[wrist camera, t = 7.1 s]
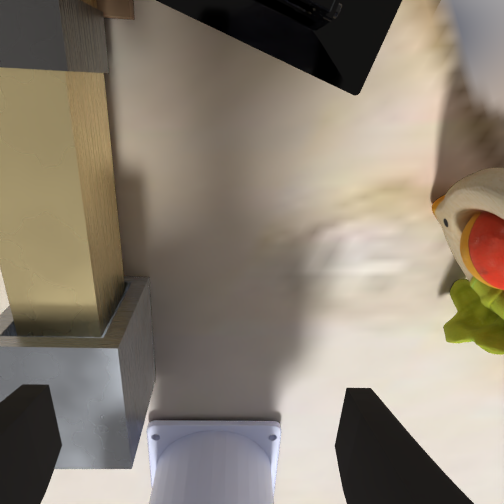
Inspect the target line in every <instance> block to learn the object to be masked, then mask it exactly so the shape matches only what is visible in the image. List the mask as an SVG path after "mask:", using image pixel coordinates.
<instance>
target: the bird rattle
mask: <svg viewBox="0 0 504 504" xmlns="http://www.w3.org/2000/svg"><path fill="white" fill-rule="evenodd" d="M432 211H433V213H434V215H435V217H436V218H437V220H438V221H439V223H440V224H441V226H442V229H443V231H444V234H445V237H446V240H447V242H448V245H449V247H450V249H451V251H452V253H453V255H454V257H455V259H456V261H457V262H458V264H459V266H460V267H461V269H462V271H463V272H464V274H465V276H466V277H467V278H468V280H467V279H459V280H457V281H456V282H454V284H453V286H452V288H451V290H450V295H451V298H452V300H453V302H454V304H455V306H456V308H457V311H458V312H457V314H456V315H455V316H454V317H453V318H452V319H451V320H449V321H448V322H447V323H446V324H445V325H444V327H443V328H444V332H445V337H446V341H447V342H450V343H463V342H471V341H473V342H475V343H476V344H477V345H478V346H480V347H481V348H482V349H484V350H485V351H487V352H489V353H492V354H500V355H501V354H504V168H488V169H483V170H480V171H478V172H476V173H473V174H471V175H469V176H467V177H465V178H463V179H461V180H460V181H458V182H456V183H455V184H454V185H453V186H452V187H451V188H450V189H449V190H448V192H447V193H446V195H444V196H442V197H440V198H439V199H437V200H436V201H435V202H434V203H433V205H432Z"/></svg>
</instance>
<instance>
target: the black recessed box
mask: <svg viewBox="0 0 504 504" xmlns="http://www.w3.org/2000/svg"><path fill="white" fill-rule="evenodd" d="M156 1H158V2H161V3H163V4H165V5H167V6H169V7H171V8H173V9H175V10H177V11H179V12H181V13H183V14H186V15H188V16H190V17H192V18H194V19H196V20H198V21H200V22H202V23H204V24H206V25H208V26H211V27H213V28H215V29H217V30H219V31H221V32H223V33H225V34H227V35H229V36H231V37H233V38H236V39H238V40H240V41H242V42H244V43H246V44H248V45H250V46H252V47H254V48H256V49H259V50H261V51H263V52H265V53H267V54H269V55H271V56H273V57H275V58H277V59H279V60H281V61H284V62H286V63H288V64H290V65H292V66H294V67H296V68H298V69H300V70H302V71H304V72H306V73H309V74H311V75H313V76H315V77H317V78H319V79H321V80H323V81H325V82H327V83H329V84H332V85H334V86H336V87H338V88H340V89H342V90H344V91H346V92H348V93H350V94H352V95H358V94H359V93H360V91H361V89H362V87H363V85H364V83H365V80H366V78H367V76H368V74H369V72H370V70H371V67H372V65H373V63H374V61H375V59H376V56H377V54H378V52H379V50H380V48H381V45H382V43H383V41H384V39H385V37H386V34H387V32H388V30H389V28H390V26H391V24H392V21H393V19H394V17H395V15H396V13H397V10H398V8H399V6H400V4H401V2H402V0H156ZM436 1H437V2H438V4H439V3H440V1H441V0H436Z"/></svg>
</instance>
